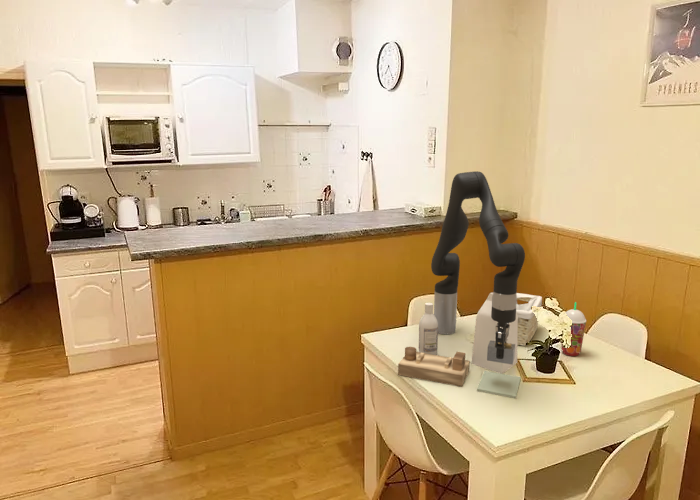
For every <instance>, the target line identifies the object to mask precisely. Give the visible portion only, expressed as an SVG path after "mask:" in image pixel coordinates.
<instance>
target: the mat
mask: <svg viewBox="0 0 700 500" xmlns="http://www.w3.org/2000/svg"><path fill="white" fill-rule="evenodd" d="M521 379H522V377H521V376H517V375H511V374H507V373H503V374H501V373H498V372H495V371H490V370H489V371H488V370H483V373H482V376H481V378H480V380H479V383H478V385H477V388H476V392H479V393H485V394H491V395H496V396H501V397H505V398H506V397H507V398H512V399H517V395H518V390H519V388H520V387H519V386H520V382H521Z"/></svg>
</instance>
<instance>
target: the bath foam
mask: <svg viewBox="0 0 700 500" xmlns="http://www.w3.org/2000/svg"><path fill="white" fill-rule="evenodd" d="M438 335H439V333H438V322H437V319H436V317H435V316H434V304H433V302H425V303H424V313H423V315H422V316H421V318H420V319H419V323H418V352H420V353H421V352H422V353H426V354H432V355H438V341H439V337H438Z"/></svg>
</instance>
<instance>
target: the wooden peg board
mask: <svg viewBox="0 0 700 500" xmlns="http://www.w3.org/2000/svg"><path fill="white" fill-rule="evenodd" d="M470 364H471V362H470V360H467V359H466V352H462V351H456V353H455V354H454V356H453V357H451V356H445V355H444V356H443V355H438V354H437V355H432V354H426V353H422V352H421V353H420V352H419V351H417V348H416V347H415V346H406V347H404V356H403V357H402V358H401V360H400V361H399V362H398V365H397V366H398V367H397V375H399V376H403V377H409V378H413V379H420V380H424V381H430V382H435V383H441V384H444V385H445V384H446V385H452V386H457V387H463V385H464V384H465V381H466V379H467V377H468V375H469V373H470Z"/></svg>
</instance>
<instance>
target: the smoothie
mask: <svg viewBox="0 0 700 500" xmlns="http://www.w3.org/2000/svg"><path fill="white" fill-rule="evenodd" d="M565 313H566V314H567V316H568V317H569V318H570V319H571V320H572V326H571V334H572V337H571V347H569V348H564V347H563V344H561V350H562V353H563V354H564V355H567V356H570V357H577V356H579V355H580V353H581V352H582V349H583V347H582V346H583V342H584V336H585V329H586V324H587V319H586V316H585V315H584V313H583V312H582V311H581V310H579V309H577V301H575V302H574V306H573V308H572V309H569V310H567V311H565V312H564V314H565Z"/></svg>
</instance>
